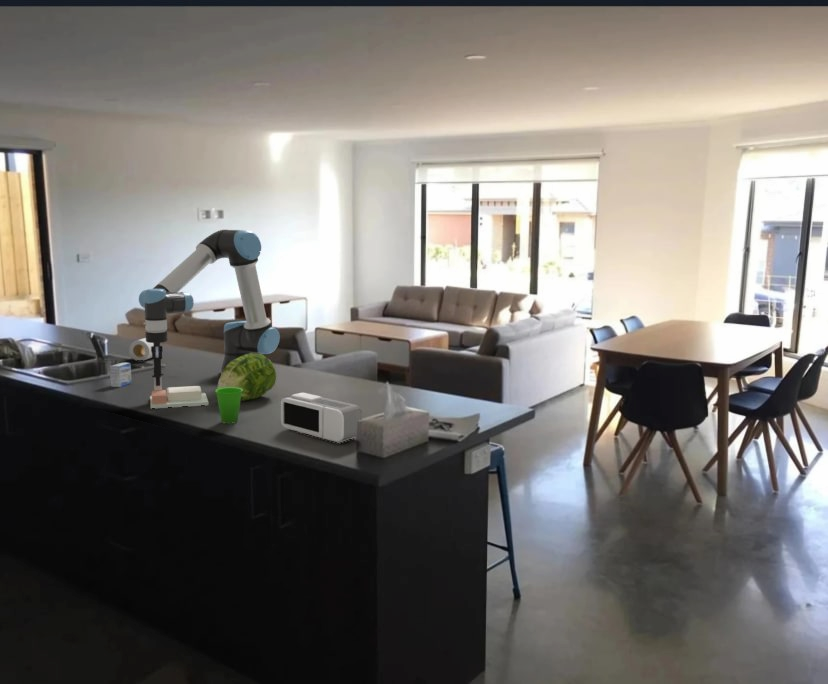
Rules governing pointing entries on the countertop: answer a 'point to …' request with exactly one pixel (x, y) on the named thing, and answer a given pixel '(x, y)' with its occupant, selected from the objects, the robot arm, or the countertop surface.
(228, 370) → the lettuce
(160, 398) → the pink rectangular block
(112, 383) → the medicine box
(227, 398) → the cup
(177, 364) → the countertop surface
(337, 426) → the alarm clock
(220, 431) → the countertop surface
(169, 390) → the cream flat block
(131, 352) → the toilet paper
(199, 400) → the board
